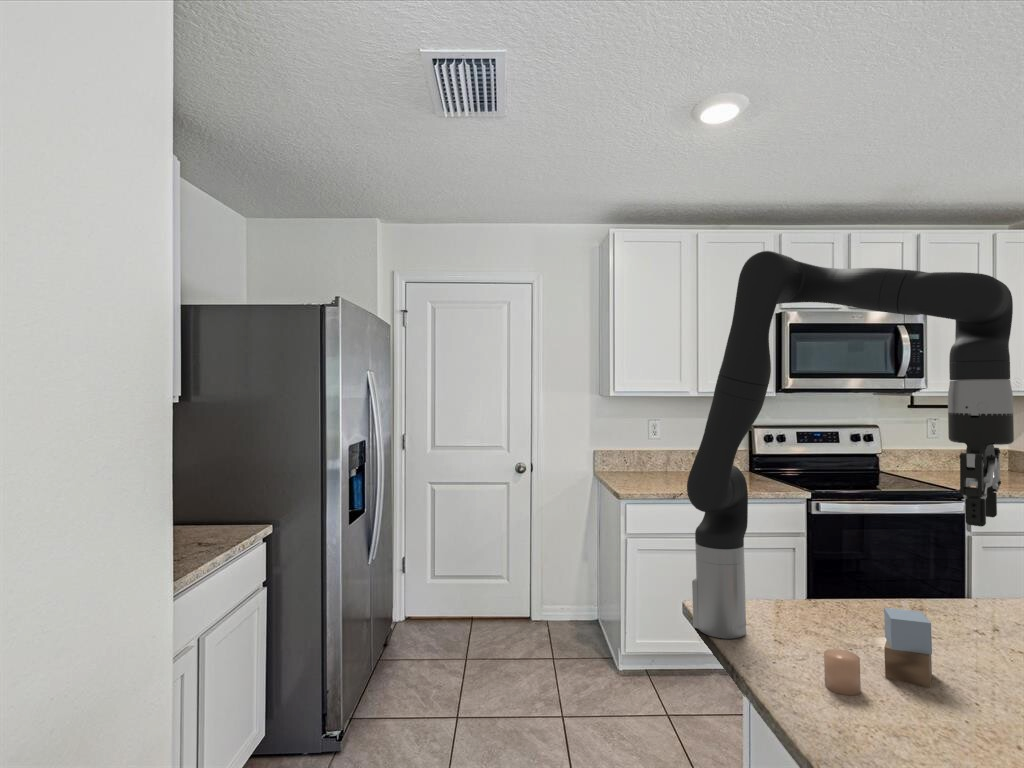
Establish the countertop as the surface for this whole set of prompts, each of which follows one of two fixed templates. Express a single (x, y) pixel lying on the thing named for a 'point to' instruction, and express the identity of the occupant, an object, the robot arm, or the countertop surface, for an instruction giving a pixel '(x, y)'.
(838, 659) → the tan rounded cylinder
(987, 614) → the countertop surface
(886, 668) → the tower base
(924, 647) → the tower top
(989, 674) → the countertop surface
